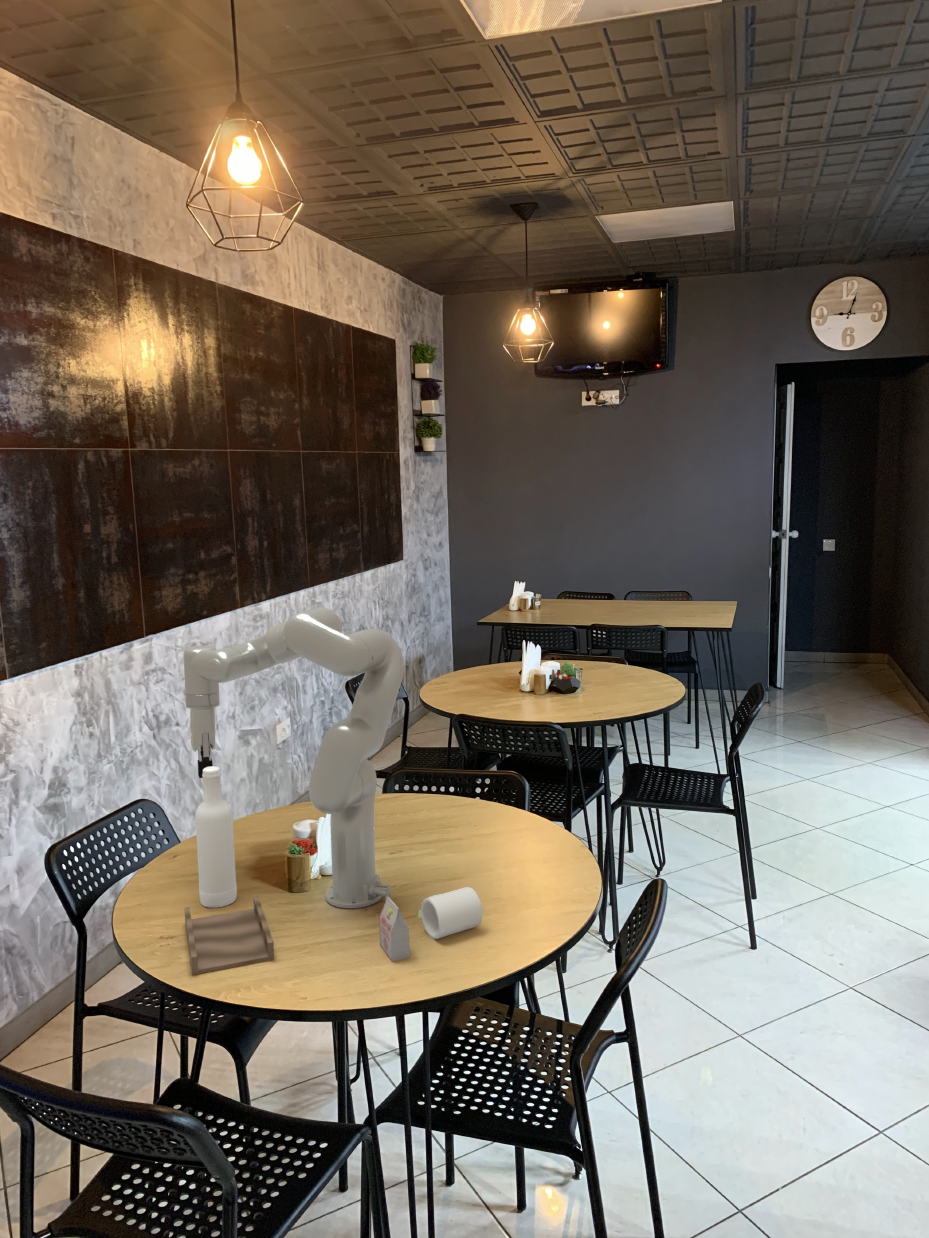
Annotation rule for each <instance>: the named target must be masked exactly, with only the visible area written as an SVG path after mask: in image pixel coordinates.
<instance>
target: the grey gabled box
mask: <svg viewBox="0 0 929 1238" xmlns="http://www.w3.org/2000/svg"><path fill="white" fill-rule="evenodd" d="M378 925H379V927H378V928H379V947H380V948H381V949H382V951H383V952H384V954H385V955H386V956H387V958H388V960H389V961H390V962H397V961H400V960H405V959H409V958H411V956H410V955H411V952H410V948H411V947H410V946H411V945H410V927H409V926H408V924H407V922H406V921H405V919H404V917H403V915H402V912H401V910H400V907H398V906H397V904H396V903H395V902H394V901H393V900H392V899H391V897H390V895H389V896H388V897H387V896H386V897H385V900H384V904H383V906H382V909H381V912H380V914H379V917H378Z"/></svg>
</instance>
